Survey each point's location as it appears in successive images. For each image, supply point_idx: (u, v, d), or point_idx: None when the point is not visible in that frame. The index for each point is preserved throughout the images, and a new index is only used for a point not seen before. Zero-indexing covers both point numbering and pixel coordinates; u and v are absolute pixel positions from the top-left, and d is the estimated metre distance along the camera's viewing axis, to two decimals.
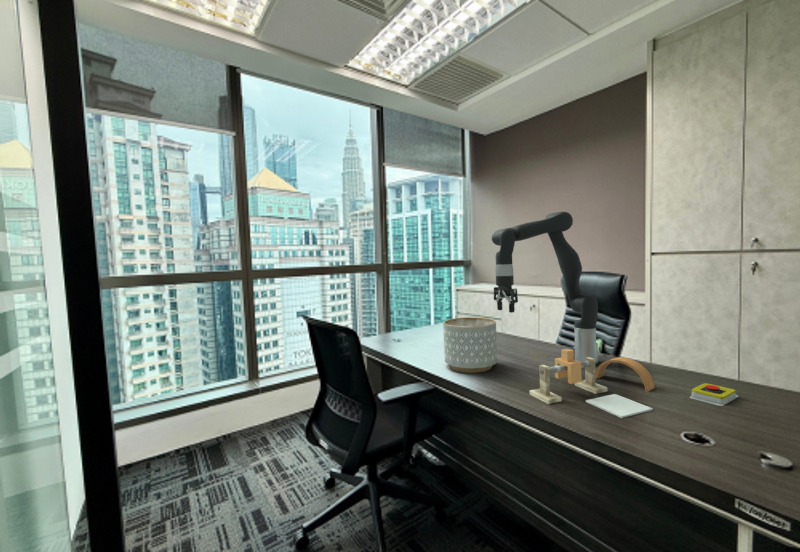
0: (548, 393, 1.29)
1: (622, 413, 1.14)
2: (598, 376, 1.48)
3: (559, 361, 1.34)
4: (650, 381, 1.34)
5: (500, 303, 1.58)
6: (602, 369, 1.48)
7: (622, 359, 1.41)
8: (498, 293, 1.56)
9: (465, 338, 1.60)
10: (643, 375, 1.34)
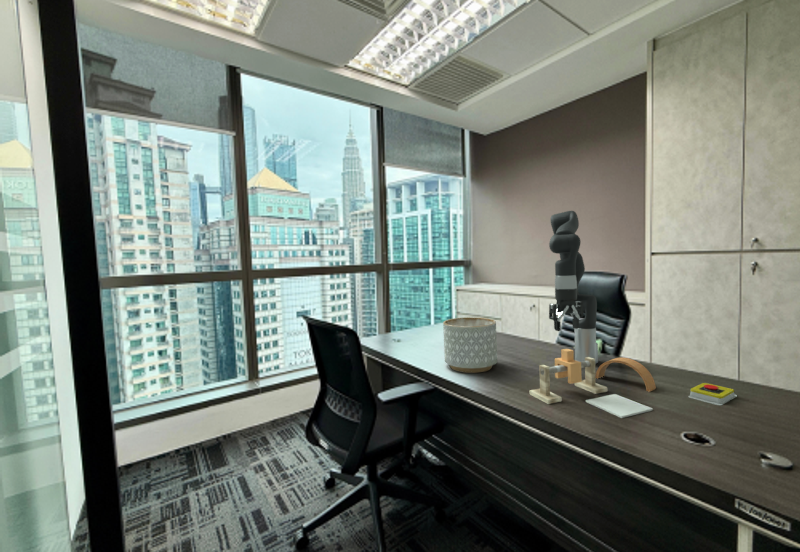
0: (548, 393, 1.29)
1: (622, 413, 1.14)
2: (599, 376, 1.48)
3: (559, 361, 1.34)
4: (651, 381, 1.34)
5: None
6: (603, 369, 1.48)
7: (623, 359, 1.40)
8: (564, 310, 1.30)
9: (465, 338, 1.60)
10: (644, 375, 1.33)
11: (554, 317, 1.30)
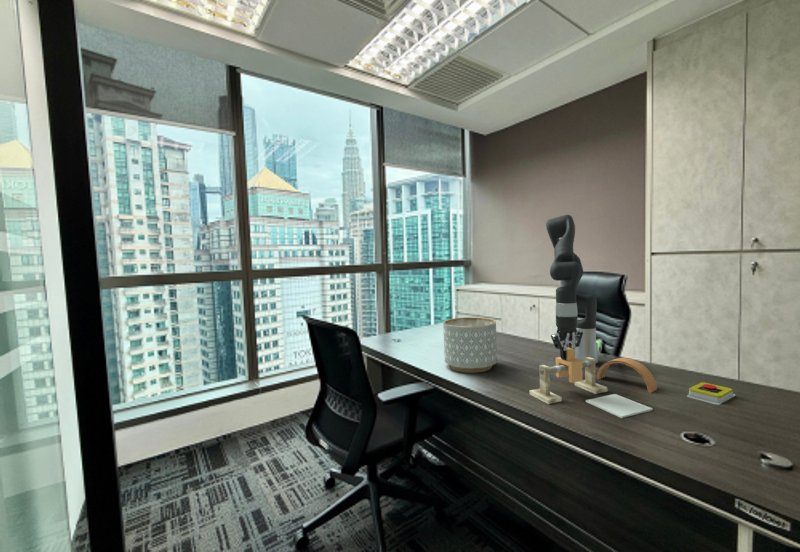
0: (548, 393, 1.29)
1: (622, 413, 1.14)
2: (600, 377, 1.47)
3: (560, 360, 1.34)
4: (652, 382, 1.33)
5: None
6: (604, 370, 1.47)
7: (624, 360, 1.40)
8: (566, 338, 1.31)
9: (465, 338, 1.60)
10: (645, 376, 1.33)
11: (560, 347, 1.31)
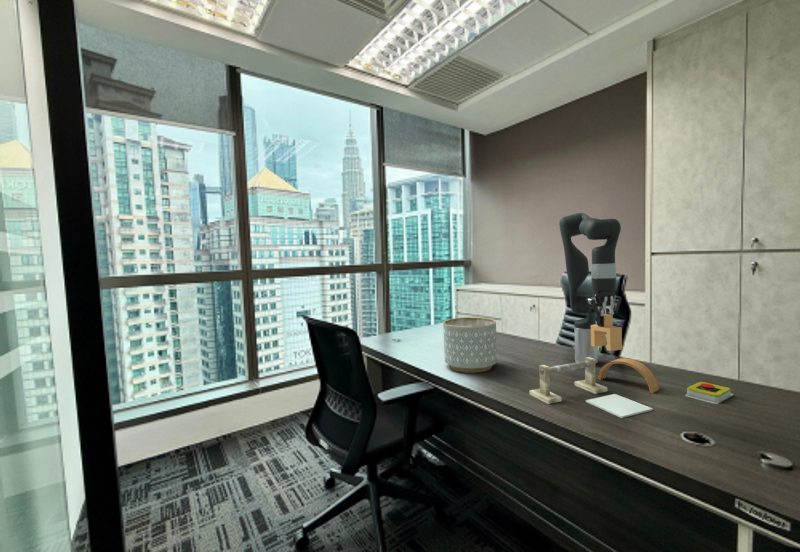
0: (548, 393, 1.29)
1: (622, 413, 1.14)
2: (601, 377, 1.46)
3: (596, 327, 1.22)
4: (654, 382, 1.32)
5: None
6: (605, 370, 1.46)
7: (626, 360, 1.39)
8: (604, 302, 1.20)
9: (465, 338, 1.60)
10: (647, 376, 1.32)
11: (597, 312, 1.19)
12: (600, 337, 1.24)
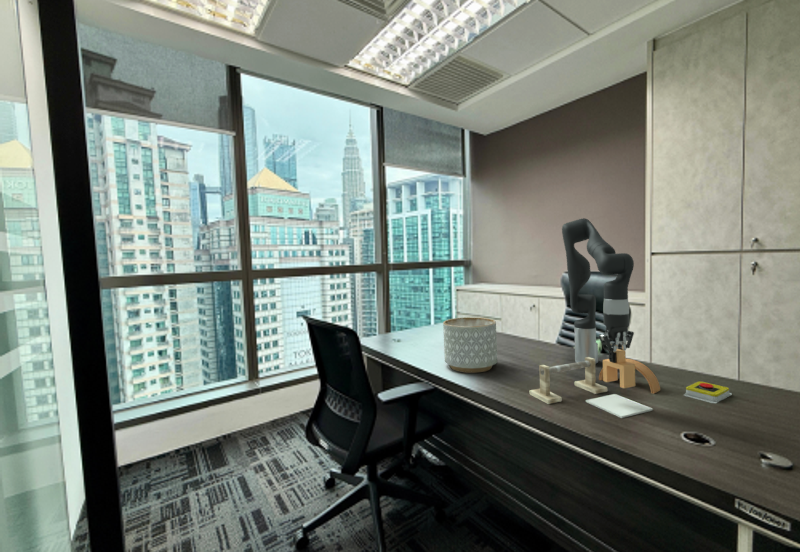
0: (548, 393, 1.29)
1: (622, 413, 1.14)
2: (602, 378, 1.46)
3: (609, 363, 1.20)
4: (656, 383, 1.32)
5: None
6: None
7: (627, 360, 1.39)
8: (617, 338, 1.18)
9: (465, 338, 1.60)
10: (649, 377, 1.31)
11: (610, 348, 1.17)
12: (612, 372, 1.22)
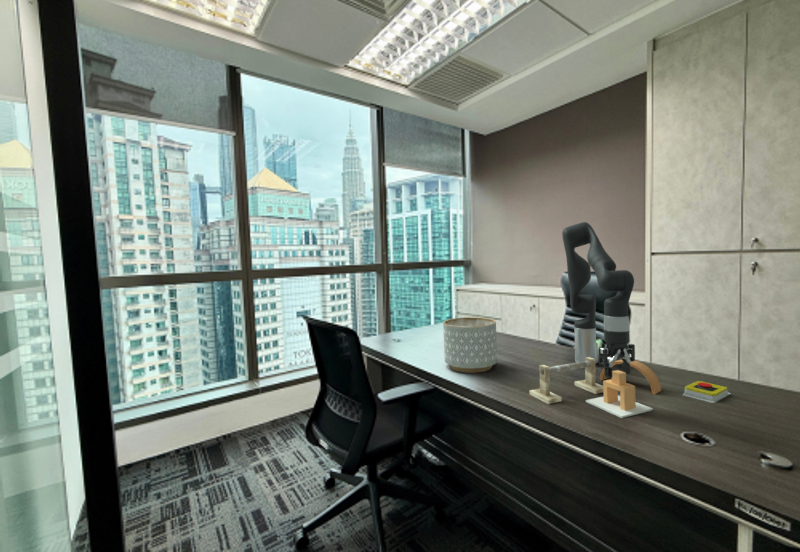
0: (548, 393, 1.29)
1: (622, 413, 1.14)
2: (603, 378, 1.45)
3: (609, 384, 1.21)
4: (657, 383, 1.31)
5: None
6: None
7: None
8: (616, 354, 1.18)
9: (465, 338, 1.60)
10: (650, 377, 1.31)
11: (605, 363, 1.17)
12: (613, 393, 1.23)
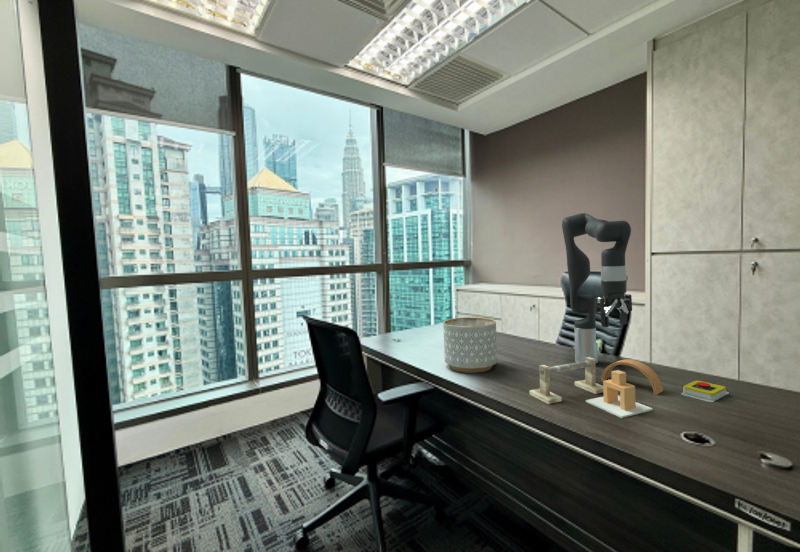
0: (548, 393, 1.29)
1: (622, 413, 1.14)
2: (604, 379, 1.45)
3: (609, 384, 1.21)
4: (658, 384, 1.31)
5: None
6: (608, 371, 1.45)
7: (629, 361, 1.38)
8: (613, 304, 1.19)
9: (465, 338, 1.60)
10: (651, 378, 1.30)
11: (602, 312, 1.18)
12: (613, 393, 1.23)
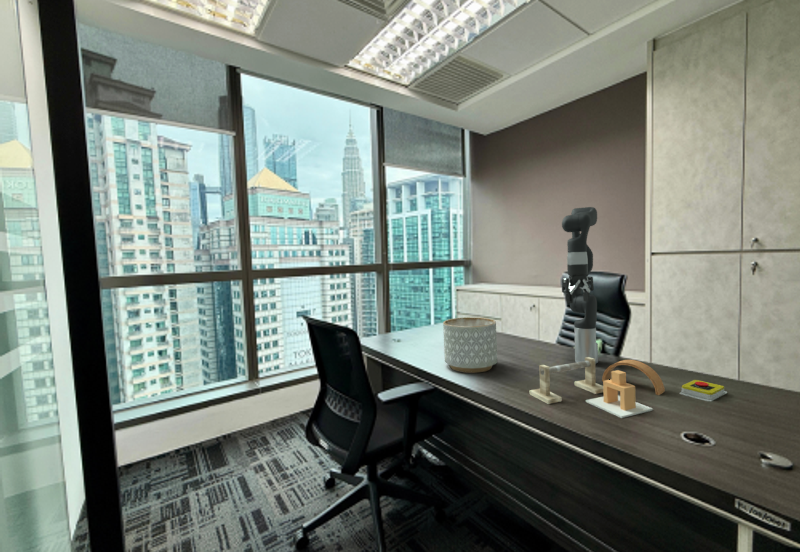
0: (548, 393, 1.29)
1: (622, 413, 1.14)
2: (605, 379, 1.44)
3: (609, 384, 1.21)
4: (660, 384, 1.30)
5: None
6: (609, 372, 1.44)
7: (631, 362, 1.37)
8: (576, 284, 1.42)
9: (465, 338, 1.60)
10: (653, 378, 1.30)
11: (567, 290, 1.41)
12: (613, 393, 1.23)
